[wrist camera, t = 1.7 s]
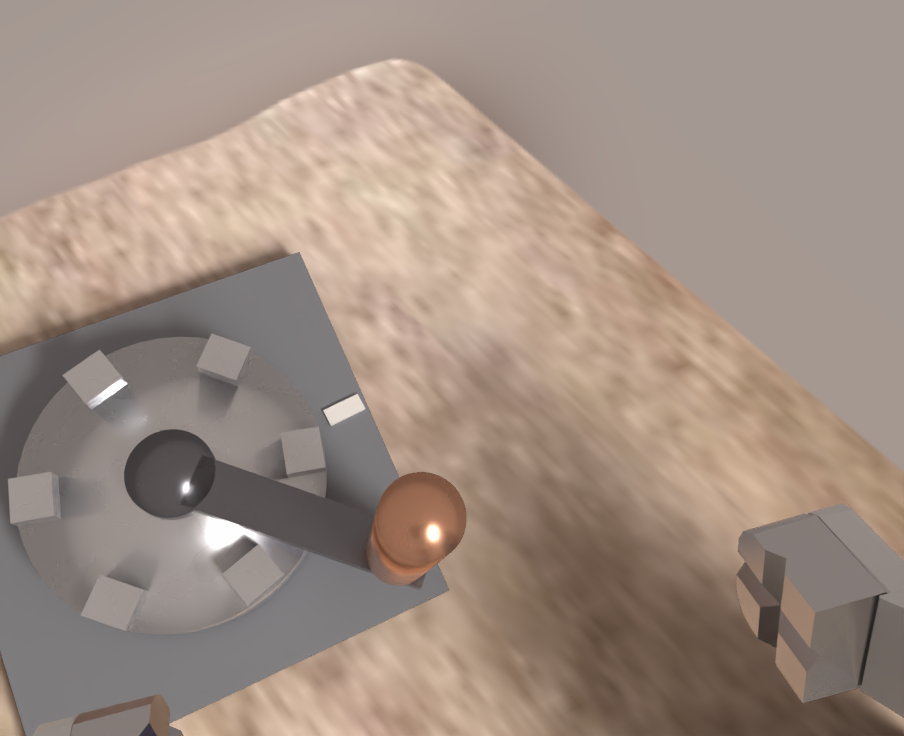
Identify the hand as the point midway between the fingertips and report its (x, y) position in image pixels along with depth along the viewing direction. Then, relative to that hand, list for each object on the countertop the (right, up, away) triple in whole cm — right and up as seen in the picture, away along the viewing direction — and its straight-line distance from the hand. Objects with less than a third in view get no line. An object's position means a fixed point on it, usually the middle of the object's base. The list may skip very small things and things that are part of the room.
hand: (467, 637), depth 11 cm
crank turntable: (-11, -3, +30) cm, 32 cm away
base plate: (-14, -3, +31) cm, 34 cm away
